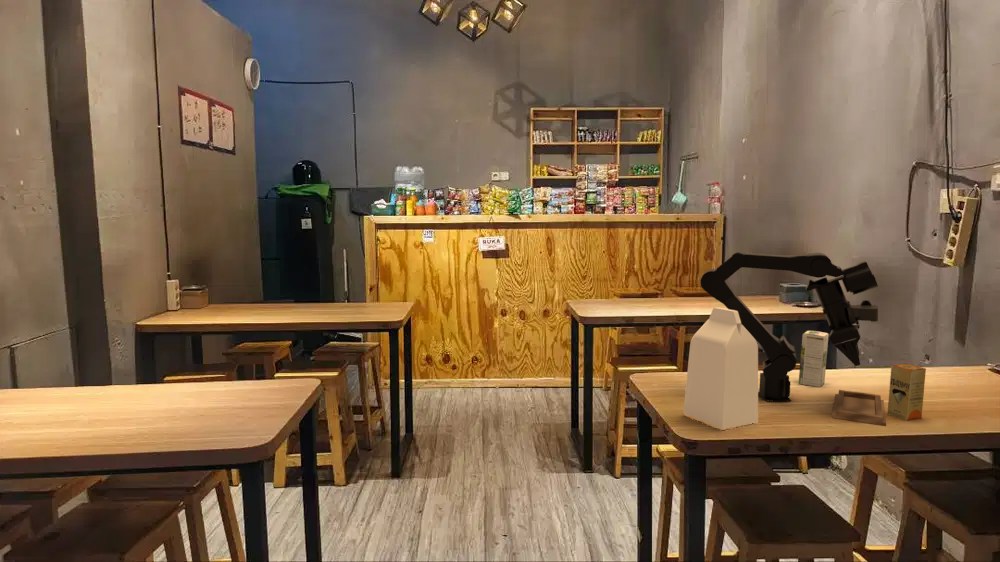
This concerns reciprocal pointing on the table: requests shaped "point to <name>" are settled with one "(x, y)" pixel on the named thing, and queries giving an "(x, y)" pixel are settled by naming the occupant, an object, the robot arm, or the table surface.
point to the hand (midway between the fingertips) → (857, 360)
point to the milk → (722, 372)
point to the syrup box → (813, 358)
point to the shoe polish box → (906, 391)
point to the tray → (859, 407)
